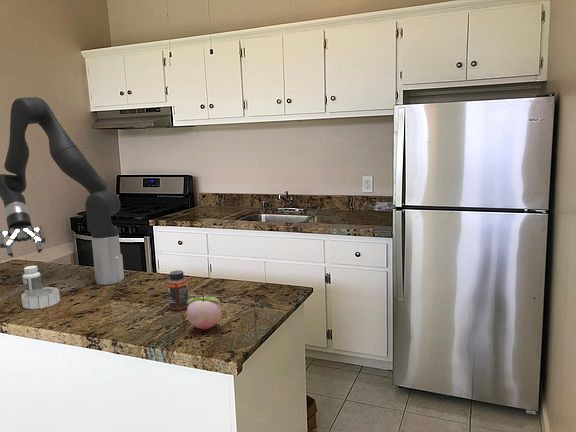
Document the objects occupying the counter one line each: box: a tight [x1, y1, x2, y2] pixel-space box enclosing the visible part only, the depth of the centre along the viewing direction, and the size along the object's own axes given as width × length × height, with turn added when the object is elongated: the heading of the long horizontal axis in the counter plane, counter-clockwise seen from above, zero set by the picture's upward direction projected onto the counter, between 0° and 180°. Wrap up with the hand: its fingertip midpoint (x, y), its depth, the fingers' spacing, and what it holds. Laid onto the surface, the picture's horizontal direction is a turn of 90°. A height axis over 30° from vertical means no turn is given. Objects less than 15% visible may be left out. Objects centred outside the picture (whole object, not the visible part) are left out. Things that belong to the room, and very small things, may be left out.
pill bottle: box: [22, 265, 43, 293], centre depth 156 cm, size 5×5×10 cm
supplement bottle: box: [167, 270, 190, 311], centre depth 141 cm, size 6×6×11 cm
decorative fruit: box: [186, 293, 222, 330], centre depth 124 cm, size 9×8×10 cm
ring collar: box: [20, 286, 61, 310], centre depth 148 cm, size 10×10×4 cm
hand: (25, 253), depth 162 cm, fingers open, 8 cm apart
